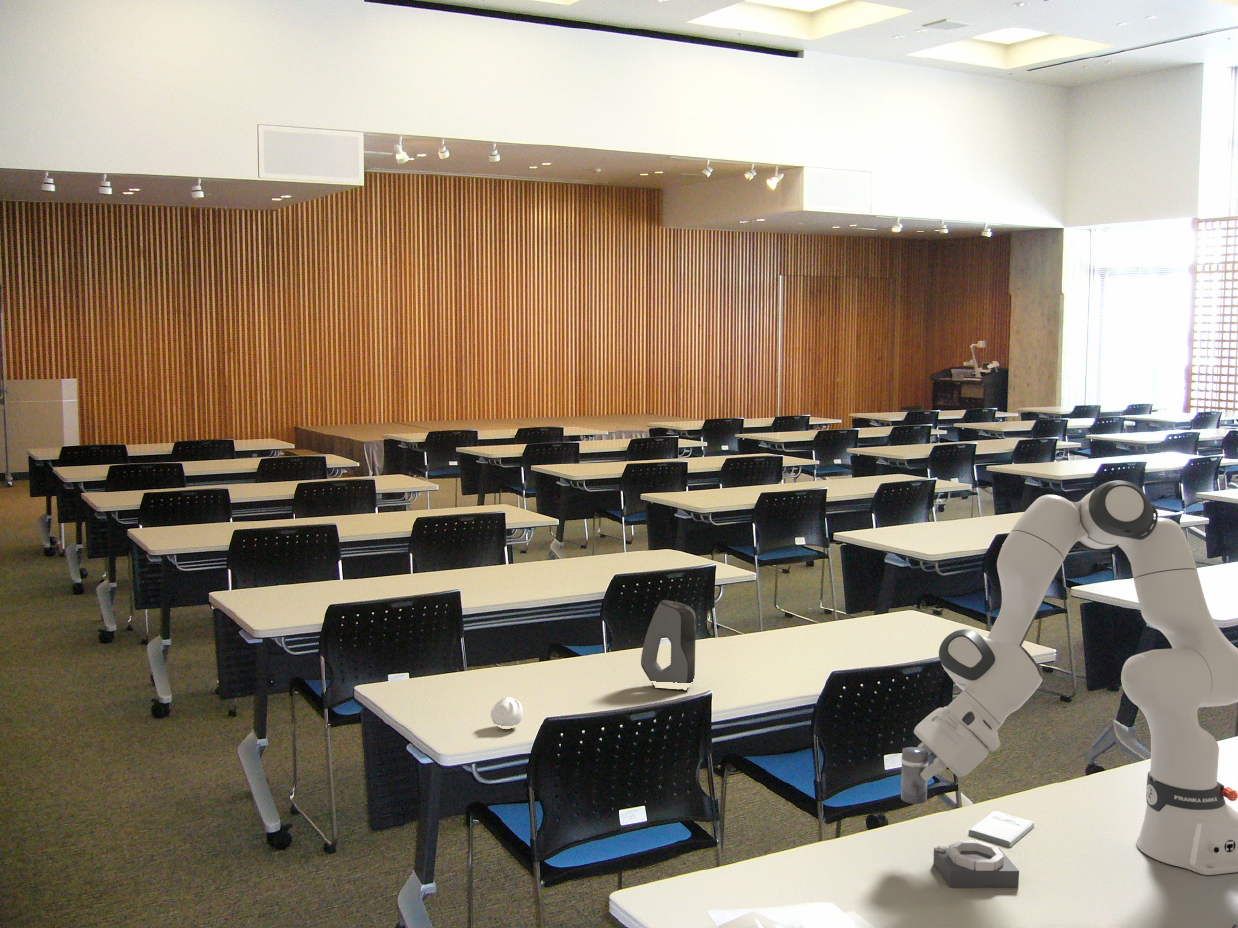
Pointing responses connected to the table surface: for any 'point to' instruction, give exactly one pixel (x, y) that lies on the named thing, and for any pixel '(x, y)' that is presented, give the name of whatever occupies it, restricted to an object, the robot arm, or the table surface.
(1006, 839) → the external hard drive
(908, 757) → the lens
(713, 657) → the table surface
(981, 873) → the octagonal socket base
